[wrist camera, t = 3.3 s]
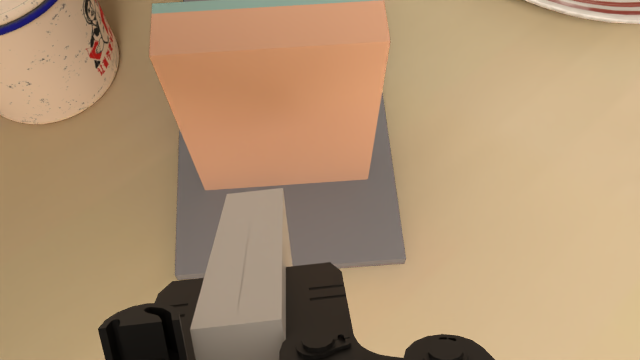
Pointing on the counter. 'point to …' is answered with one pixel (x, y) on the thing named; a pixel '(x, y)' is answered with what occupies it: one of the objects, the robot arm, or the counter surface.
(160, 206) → the counter surface
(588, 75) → the counter surface
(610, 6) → the dinner plate
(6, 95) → the teacup with lid
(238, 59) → the peach box
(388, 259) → the mat
